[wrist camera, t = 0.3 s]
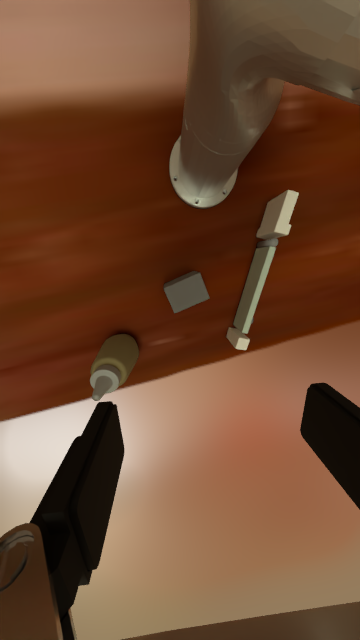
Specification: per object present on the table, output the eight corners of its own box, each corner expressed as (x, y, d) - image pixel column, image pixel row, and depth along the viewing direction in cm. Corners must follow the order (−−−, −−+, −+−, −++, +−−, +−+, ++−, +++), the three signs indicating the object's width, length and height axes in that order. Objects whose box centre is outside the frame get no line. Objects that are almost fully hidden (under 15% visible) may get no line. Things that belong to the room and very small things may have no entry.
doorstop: (164, 283, 40) (163, 288, 33) (193, 270, 40) (199, 272, 32) (173, 304, 42) (174, 313, 34) (201, 291, 41) (209, 298, 34)
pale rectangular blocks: (266, 201, 37) (288, 188, 30) (278, 205, 37) (302, 192, 30) (225, 336, 45) (235, 349, 38) (235, 338, 45) (247, 351, 38)
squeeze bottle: (106, 328, 42) (64, 372, 25) (141, 329, 43) (124, 374, 26) (107, 359, 45) (70, 419, 27) (141, 360, 45) (124, 419, 28)
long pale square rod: (258, 240, 38) (272, 237, 33) (268, 243, 39) (283, 240, 33) (232, 324, 44) (241, 332, 38) (241, 325, 44) (251, 334, 39)
